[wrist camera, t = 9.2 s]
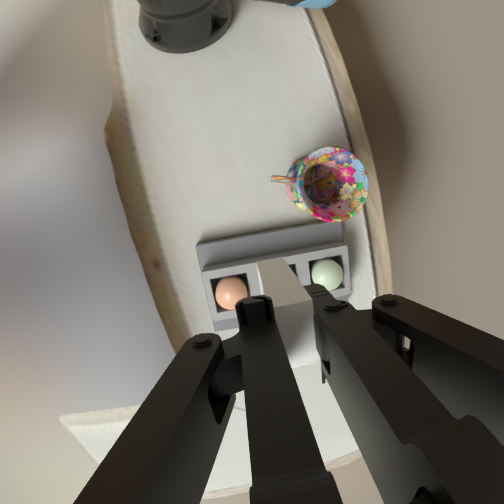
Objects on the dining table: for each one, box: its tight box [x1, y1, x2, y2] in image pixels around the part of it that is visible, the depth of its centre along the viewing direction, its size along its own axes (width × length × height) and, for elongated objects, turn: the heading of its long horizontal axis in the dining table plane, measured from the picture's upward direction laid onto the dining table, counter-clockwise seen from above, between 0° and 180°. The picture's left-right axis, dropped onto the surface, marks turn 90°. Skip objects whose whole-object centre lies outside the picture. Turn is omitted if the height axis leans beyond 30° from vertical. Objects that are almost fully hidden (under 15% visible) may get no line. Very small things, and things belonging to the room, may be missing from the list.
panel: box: [196, 221, 351, 332], centre depth 45 cm, size 14×22×5 cm, turn 100°
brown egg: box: [216, 274, 247, 310], centre depth 44 cm, size 4×4×4 cm
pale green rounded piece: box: [309, 257, 343, 291], centre depth 44 cm, size 4×4×4 cm
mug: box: [271, 146, 369, 222], centre depth 40 cm, size 12×9×11 cm
